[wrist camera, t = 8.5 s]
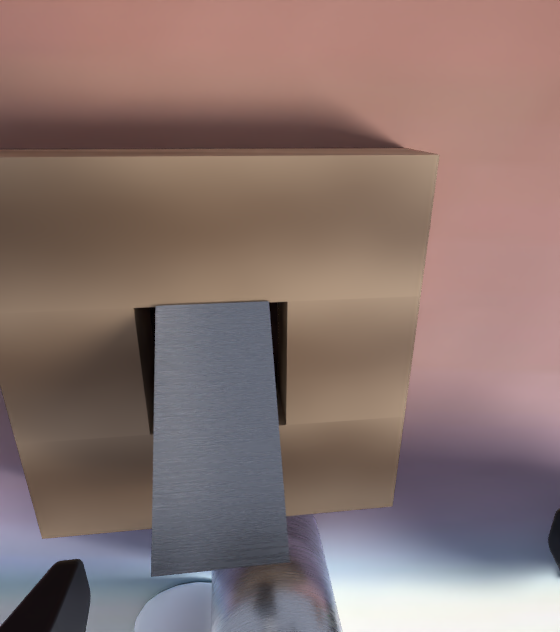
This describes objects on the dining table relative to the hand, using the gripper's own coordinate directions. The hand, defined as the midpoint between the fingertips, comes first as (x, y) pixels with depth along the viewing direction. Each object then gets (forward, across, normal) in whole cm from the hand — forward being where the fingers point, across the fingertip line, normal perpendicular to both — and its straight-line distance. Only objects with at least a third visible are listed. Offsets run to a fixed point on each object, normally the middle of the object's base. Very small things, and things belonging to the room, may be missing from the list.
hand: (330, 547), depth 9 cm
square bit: (+10, +2, 0) cm, 10 cm away
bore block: (+12, +2, +1) cm, 12 cm away
